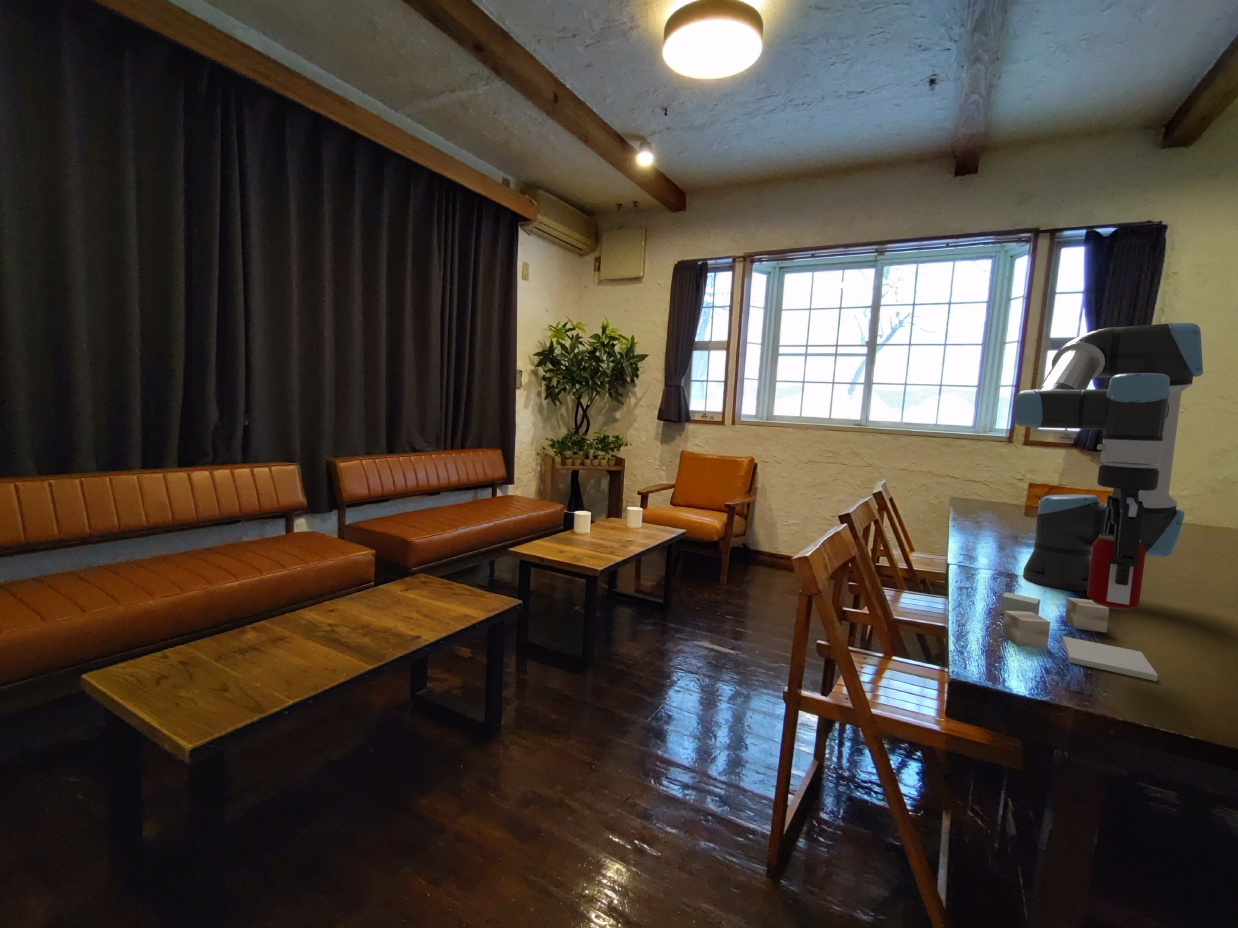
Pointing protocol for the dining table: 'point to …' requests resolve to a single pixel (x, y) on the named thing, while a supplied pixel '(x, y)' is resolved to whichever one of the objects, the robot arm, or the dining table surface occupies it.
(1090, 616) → the beech block
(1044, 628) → the maple block
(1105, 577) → the beverage can
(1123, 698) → the dining table surface
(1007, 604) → the sage block
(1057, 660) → the dining table surface
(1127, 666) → the plate
